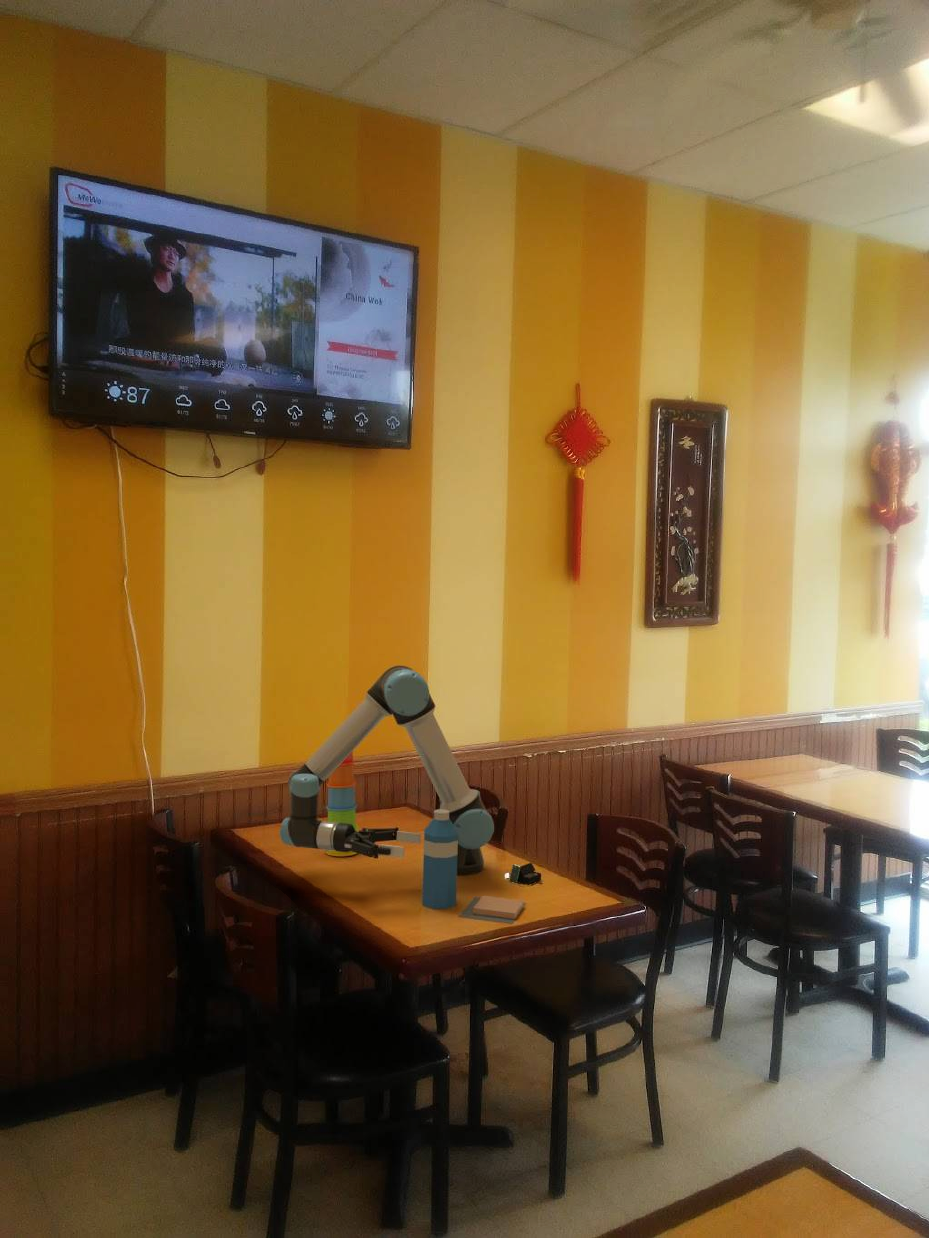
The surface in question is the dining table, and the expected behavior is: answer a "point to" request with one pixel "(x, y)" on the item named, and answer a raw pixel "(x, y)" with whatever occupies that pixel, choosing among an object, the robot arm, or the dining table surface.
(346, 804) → the stacking cups
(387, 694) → the robot arm
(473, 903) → the mat
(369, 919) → the dining table surface
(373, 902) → the dining table surface
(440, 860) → the water bottle
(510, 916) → the tile
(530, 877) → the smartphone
